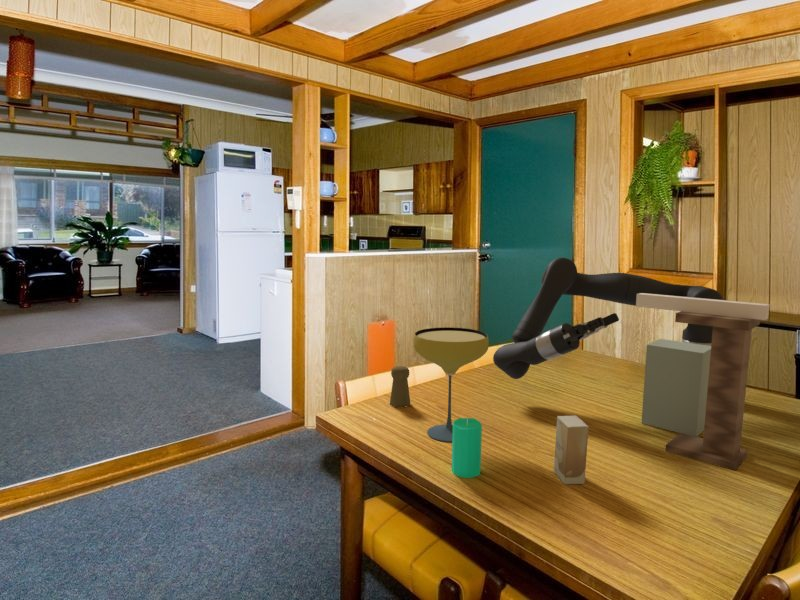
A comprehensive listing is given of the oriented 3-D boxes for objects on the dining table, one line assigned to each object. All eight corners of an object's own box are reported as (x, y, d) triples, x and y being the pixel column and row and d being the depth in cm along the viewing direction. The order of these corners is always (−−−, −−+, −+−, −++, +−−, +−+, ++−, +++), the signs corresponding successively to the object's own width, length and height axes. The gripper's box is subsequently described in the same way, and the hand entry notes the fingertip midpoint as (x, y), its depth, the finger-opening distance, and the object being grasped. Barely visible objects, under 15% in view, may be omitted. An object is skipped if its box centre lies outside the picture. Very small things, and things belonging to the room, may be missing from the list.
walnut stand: (665, 450, 123) (675, 313, 119) (679, 438, 130) (690, 308, 126) (735, 470, 114) (749, 321, 109) (746, 456, 121) (760, 315, 116)
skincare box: (553, 471, 113) (555, 415, 111) (573, 470, 113) (575, 414, 111) (564, 485, 106) (567, 426, 105) (586, 484, 107) (589, 425, 105)
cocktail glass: (491, 449, 124) (494, 342, 120) (412, 448, 124) (413, 341, 121) (481, 420, 142) (483, 327, 138) (412, 419, 142) (413, 326, 139)
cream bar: (635, 306, 128) (636, 294, 128) (640, 305, 130) (641, 293, 130) (765, 320, 110) (766, 305, 110) (768, 318, 112) (769, 304, 112)
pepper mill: (408, 408, 151) (408, 370, 149) (387, 406, 152) (387, 369, 151) (412, 401, 157) (412, 364, 155) (392, 400, 158) (392, 363, 157)
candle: (460, 462, 117) (461, 409, 115) (485, 469, 113) (487, 414, 112) (446, 472, 112) (447, 417, 110) (472, 480, 108) (473, 423, 107)
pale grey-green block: (641, 423, 140) (646, 344, 137) (655, 413, 147) (660, 338, 145) (696, 437, 131) (703, 353, 128) (707, 426, 138) (714, 346, 136)
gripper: (537, 332, 141) (591, 307, 130) (564, 325, 151) (615, 302, 140) (549, 359, 139) (604, 336, 128) (575, 350, 149) (628, 328, 139)
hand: (610, 318), depth 134 cm, fingers open, 8 cm apart
